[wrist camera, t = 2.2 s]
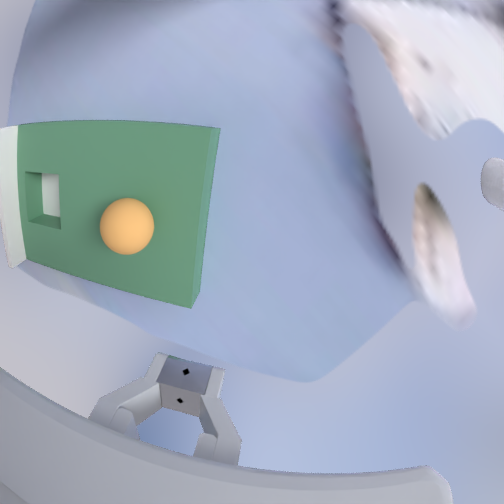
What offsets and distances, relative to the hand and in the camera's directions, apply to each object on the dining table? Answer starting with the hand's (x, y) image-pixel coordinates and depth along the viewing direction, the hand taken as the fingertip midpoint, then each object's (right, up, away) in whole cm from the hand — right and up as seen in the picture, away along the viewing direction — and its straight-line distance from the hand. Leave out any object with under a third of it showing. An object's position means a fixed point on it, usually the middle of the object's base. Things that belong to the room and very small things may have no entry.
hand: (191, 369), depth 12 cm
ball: (-8, +7, +12) cm, 16 cm away
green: (-15, +11, +18) cm, 26 cm away
